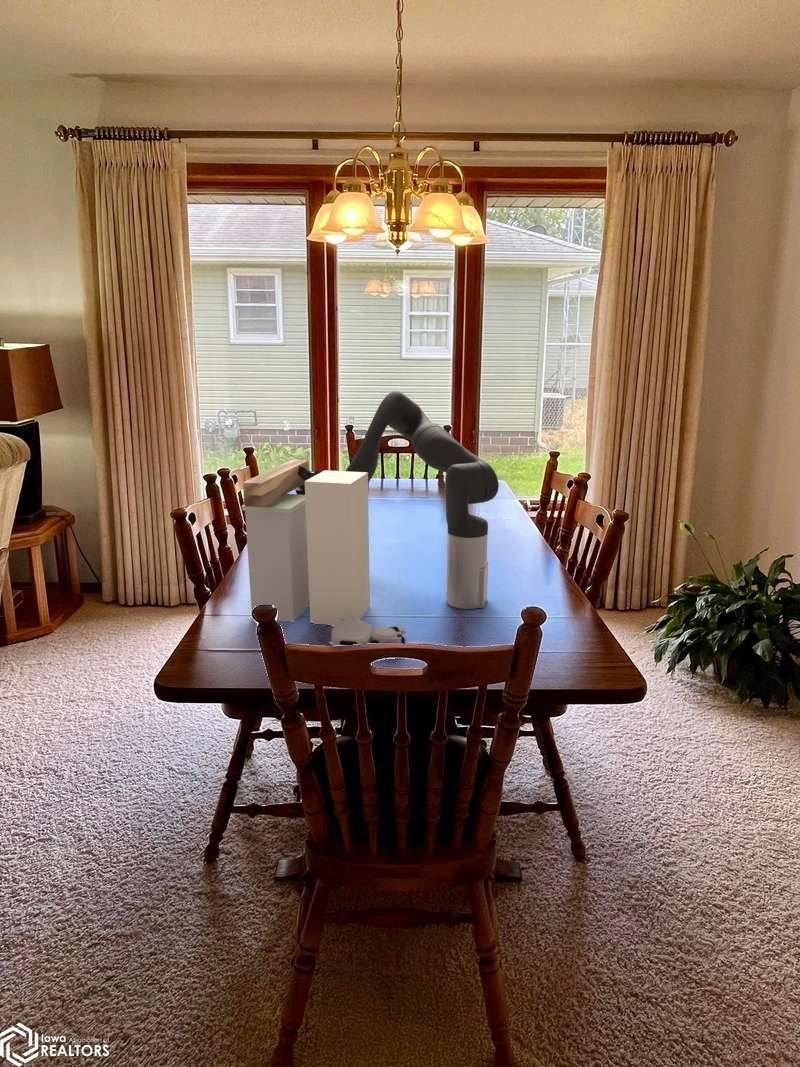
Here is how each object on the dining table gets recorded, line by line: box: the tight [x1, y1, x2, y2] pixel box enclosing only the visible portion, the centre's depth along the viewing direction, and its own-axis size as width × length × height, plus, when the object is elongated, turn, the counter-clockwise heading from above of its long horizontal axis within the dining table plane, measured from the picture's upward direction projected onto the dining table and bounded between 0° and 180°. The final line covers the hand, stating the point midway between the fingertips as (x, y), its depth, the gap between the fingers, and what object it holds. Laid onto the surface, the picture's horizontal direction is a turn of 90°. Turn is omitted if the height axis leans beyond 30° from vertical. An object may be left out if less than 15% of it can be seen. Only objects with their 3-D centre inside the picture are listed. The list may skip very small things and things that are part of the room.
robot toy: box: [328, 618, 407, 646], centre depth 145 cm, size 12×4×15 cm
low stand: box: [241, 493, 310, 622], centre depth 161 cm, size 11×13×26 cm
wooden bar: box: [242, 458, 310, 507], centre depth 158 cm, size 4×26×5 cm, turn 165°
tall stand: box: [305, 469, 371, 626], centre depth 157 cm, size 10×12×32 cm
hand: (290, 469), depth 163 cm, fingers closed on wooden bar, 4 cm apart
